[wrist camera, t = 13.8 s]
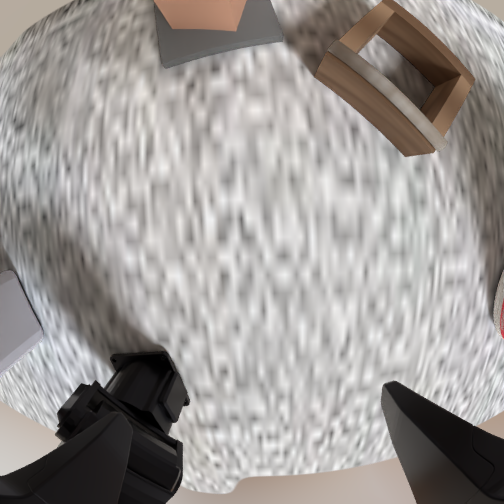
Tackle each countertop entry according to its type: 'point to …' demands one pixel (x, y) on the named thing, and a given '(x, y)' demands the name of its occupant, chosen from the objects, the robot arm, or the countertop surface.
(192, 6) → the block
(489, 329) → the countertop surface
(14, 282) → the soap bottle
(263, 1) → the pad
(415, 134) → the open wooden box
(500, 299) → the supplement tub
